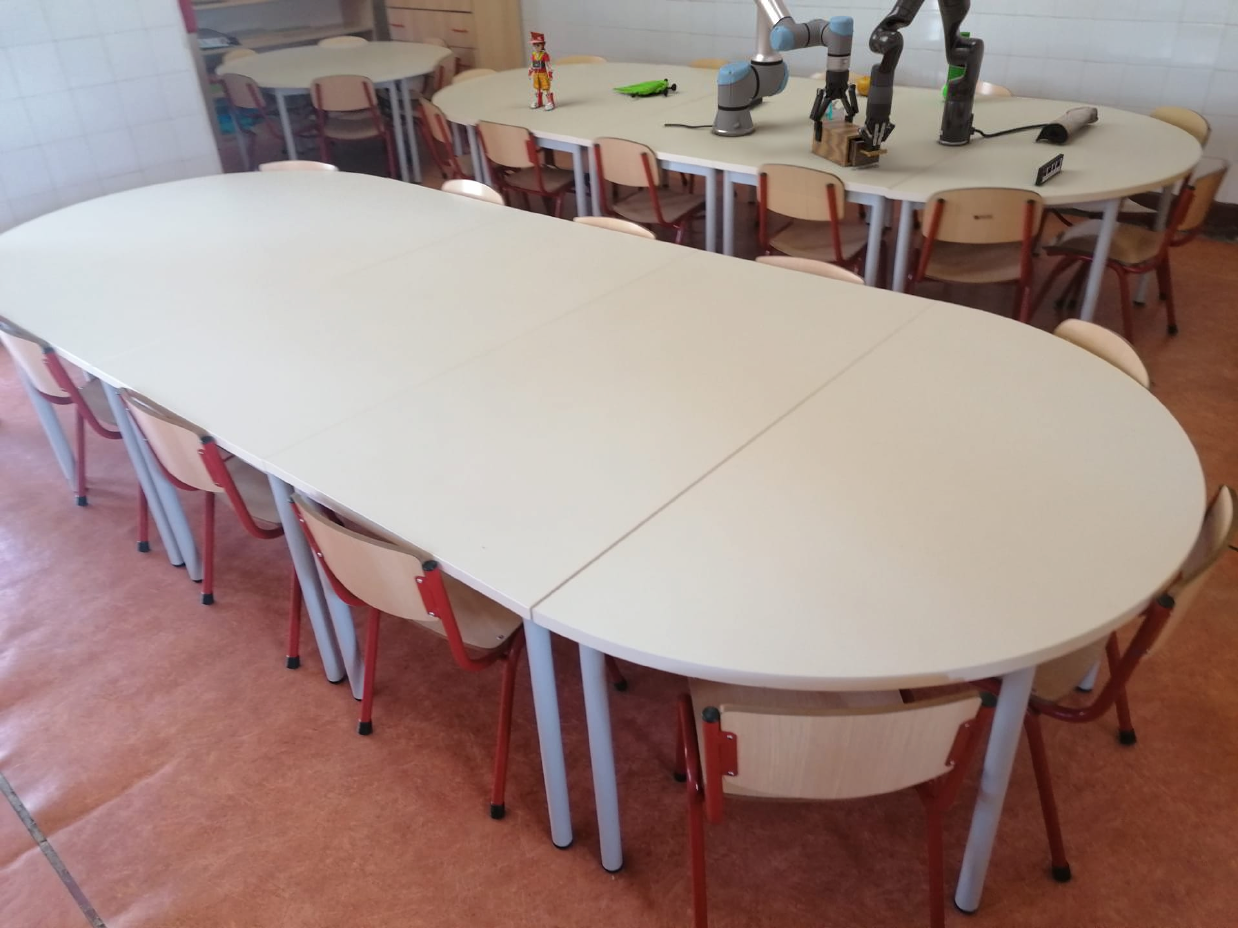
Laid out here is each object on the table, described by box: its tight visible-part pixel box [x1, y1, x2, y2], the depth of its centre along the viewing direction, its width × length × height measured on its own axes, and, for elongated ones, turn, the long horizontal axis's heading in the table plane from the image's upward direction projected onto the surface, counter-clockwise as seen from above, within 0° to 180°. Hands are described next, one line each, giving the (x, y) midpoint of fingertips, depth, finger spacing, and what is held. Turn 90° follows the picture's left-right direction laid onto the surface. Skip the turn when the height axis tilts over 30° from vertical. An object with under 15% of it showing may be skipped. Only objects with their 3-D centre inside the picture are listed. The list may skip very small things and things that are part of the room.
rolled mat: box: [1035, 106, 1099, 146], centre depth 310 cm, size 30×9×10 cm
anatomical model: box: [821, 93, 845, 121], centre depth 342 cm, size 15×10×10 cm
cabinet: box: [811, 119, 868, 167], centre depth 301 cm, size 20×11×10 cm, turn 22°
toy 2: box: [612, 78, 677, 99], centre depth 396 cm, size 28×5×30 cm
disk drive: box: [749, 97, 764, 110], centre depth 367 cm, size 10×3×15 cm
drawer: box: [847, 137, 888, 168], centre depth 295 cm, size 24×9×8 cm, turn 22°
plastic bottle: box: [942, 31, 971, 100], centre depth 348 cm, size 10×10×25 cm
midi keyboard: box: [1035, 153, 1065, 186], centre depth 273 cm, size 18×1×5 cm, turn 138°
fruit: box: [856, 75, 871, 96], centre depth 370 cm, size 8×8×8 cm
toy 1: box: [527, 31, 556, 111], centre depth 374 cm, size 12×9×30 cm
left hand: (832, 138), depth 306 cm, fingers closed on cabinet, 11 cm apart
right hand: (873, 156), depth 288 cm, fingers closed
